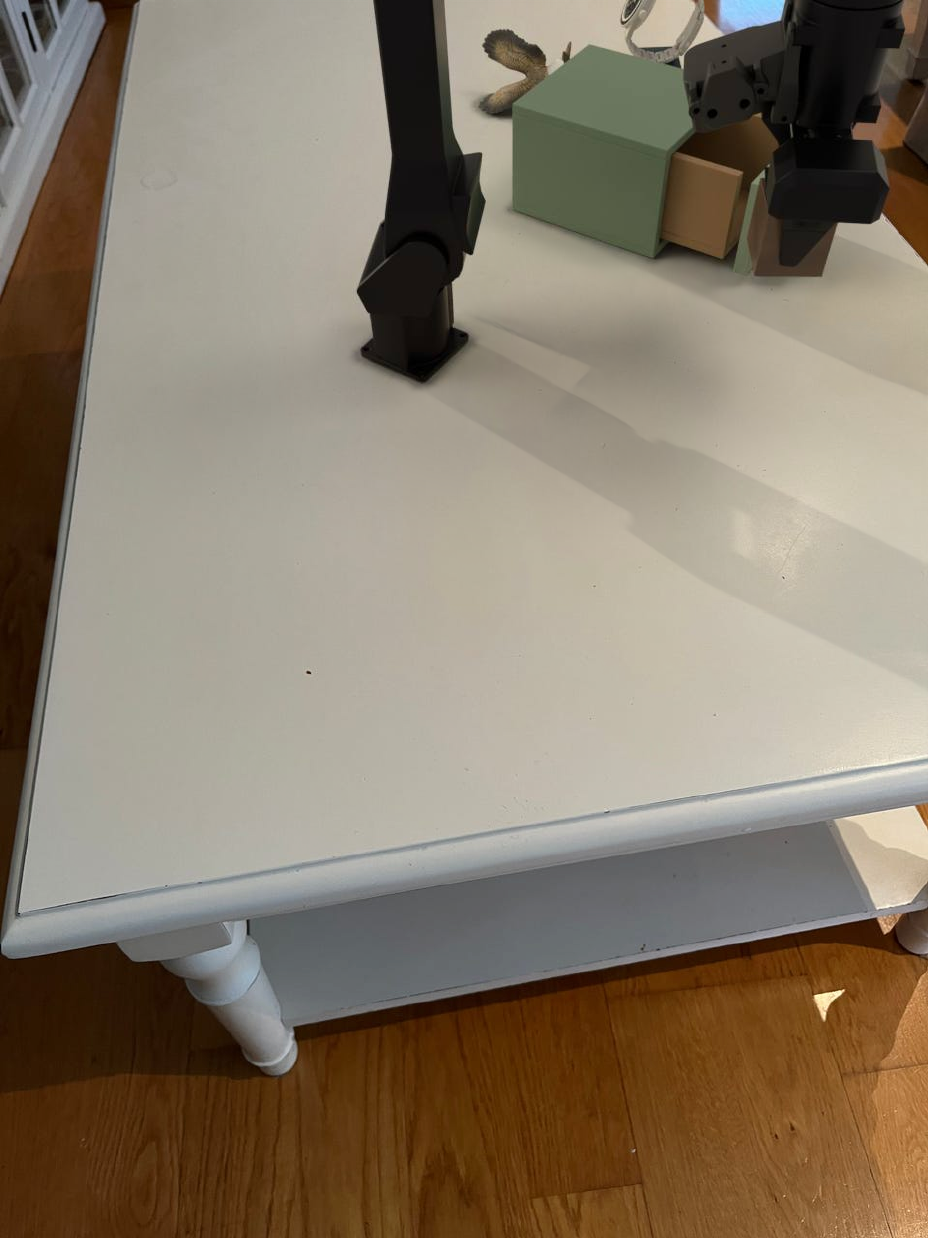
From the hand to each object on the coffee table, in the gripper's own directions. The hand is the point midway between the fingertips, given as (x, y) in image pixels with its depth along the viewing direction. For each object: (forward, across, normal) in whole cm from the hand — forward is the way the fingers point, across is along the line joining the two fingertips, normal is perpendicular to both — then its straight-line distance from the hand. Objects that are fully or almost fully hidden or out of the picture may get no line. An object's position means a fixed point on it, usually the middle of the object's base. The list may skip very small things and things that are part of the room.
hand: (785, 243), depth 66 cm
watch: (+11, -44, -9) cm, 46 cm away
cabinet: (+11, -23, -12) cm, 28 cm away
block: (+1, 0, 0) cm, 1 cm away
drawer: (+10, -18, -2) cm, 21 cm away
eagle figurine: (+11, -40, -22) cm, 47 cm away
